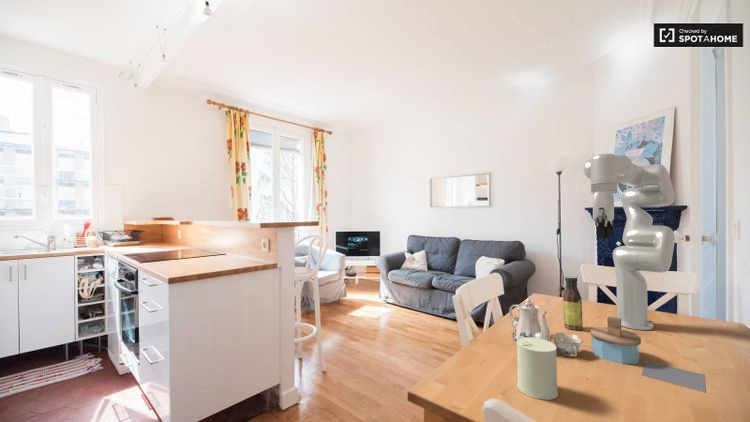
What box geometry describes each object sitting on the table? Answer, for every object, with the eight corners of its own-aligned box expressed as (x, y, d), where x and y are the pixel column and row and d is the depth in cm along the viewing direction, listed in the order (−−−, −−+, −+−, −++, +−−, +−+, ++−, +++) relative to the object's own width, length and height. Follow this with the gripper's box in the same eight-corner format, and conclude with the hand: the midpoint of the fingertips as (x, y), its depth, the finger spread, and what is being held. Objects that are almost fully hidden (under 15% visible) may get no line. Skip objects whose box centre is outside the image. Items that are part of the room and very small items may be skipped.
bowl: (597, 346, 104) (597, 328, 104) (640, 357, 96) (640, 337, 96) (590, 357, 96) (589, 337, 96) (636, 369, 88) (635, 348, 88)
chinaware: (593, 362, 96) (595, 308, 97) (556, 367, 90) (559, 310, 91) (520, 332, 122) (522, 289, 123) (487, 334, 116) (489, 289, 117)
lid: (594, 327, 105) (594, 309, 105) (642, 337, 96) (642, 317, 96) (586, 337, 96) (586, 318, 97) (638, 349, 88) (637, 328, 88)
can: (510, 380, 83) (509, 335, 83) (542, 379, 84) (542, 334, 84) (530, 401, 74) (529, 350, 74) (566, 398, 75) (565, 348, 75)
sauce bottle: (585, 331, 118) (584, 279, 118) (567, 330, 119) (566, 278, 119) (578, 325, 124) (576, 275, 125) (561, 324, 125) (559, 275, 126)
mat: (645, 362, 93) (645, 360, 93) (704, 376, 84) (704, 374, 84) (641, 377, 84) (641, 374, 84) (705, 394, 76) (705, 392, 76)
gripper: (596, 191, 119) (597, 235, 118) (585, 188, 107) (586, 238, 106) (621, 189, 113) (622, 236, 113) (612, 187, 101) (614, 239, 101)
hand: (605, 237), depth 110 cm, fingers open, 9 cm apart
